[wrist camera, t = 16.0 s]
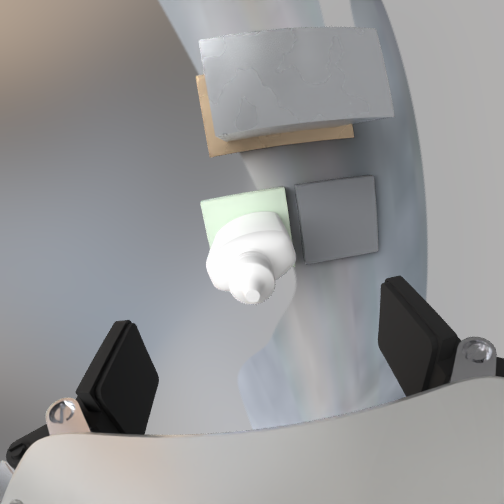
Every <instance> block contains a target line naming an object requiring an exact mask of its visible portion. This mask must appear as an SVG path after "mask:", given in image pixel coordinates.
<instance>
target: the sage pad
mask: <svg viewBox="0 0 504 504" xmlns="http://www.w3.org/2000/svg"><path fill="white" fill-rule="evenodd" d="M200 204H201V208H202V213H203V218H204V223H205V227H206V232H207V237H208V241H209V246H210V249H211V246H212V243H213V241H214V238H215V236H216V234H217V232H218V231H219V230H220V229H221V228H222V227H223V226H225V225H226V224H227V223H229V222H230V221H232V220H233V219H235V218H237V217H239V216H242V215H245V214H248V213H252V212H259V211H271V212H275V213H277V214H278V215H279V217H280V218H281V220H282V222H283V224H284V226H285V228H286V230H287V232H288V234H289V236H290V239H291V241H292V237H291V230H290V222H289V215H288V208H287V201H286V195H285V188H284V187H276V188H270V189H264V190H258V191H252V192H247V193H240V194H235V195H230V196H224V197H218V198H213V199H208V200H203V201H201V203H200ZM292 267H295V263H294V265H293V266H292Z"/></svg>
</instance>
